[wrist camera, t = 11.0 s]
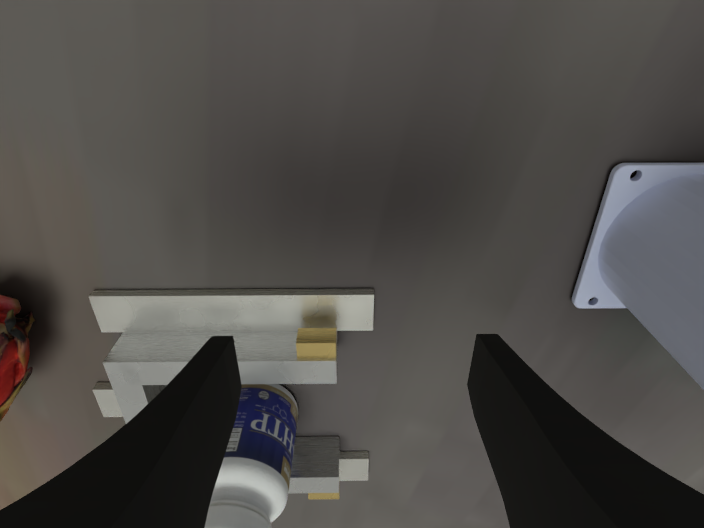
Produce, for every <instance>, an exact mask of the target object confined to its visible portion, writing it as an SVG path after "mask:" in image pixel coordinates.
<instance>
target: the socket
mask: <svg viewBox="0 0 704 528" xmlns="http://www.w3.org/2000/svg"><path fill="white" fill-rule="evenodd" d="M88 297H89V299H90V302H91V305H92V308H93V310H94V313H95V316H96V318H97V321H98V324H99V327H100V329H101V332H123V333H122V335H121V336H120V338H119V339H118V341H117V342H116V344H115V345H114V347H113V348H112V350H111V351H110V352H109V354H108V355H107V357H106V358H105V360H104V361H103V365H104V367H105V370H106V373H107V375H108V378H109V381H110V382H97V384H96V385H95V387H94V388H93V392H94V395H95V397H96V400H97V402H98V404H99V407H100V409H101V412H102V414H103V416H104V417H124V420H125V423H126V424H127V423H128V422H129V421H130V420H131V419H132V418H133V417H135V416H136V415H137V414H138V413H139V412H140V411H141V410H142V409H143V408H144V407H145V406H146V405H147V404H148V403H149V402H150V401H152V400H153V399H154V398H155V397H156V396H157V395H158V394H159V393H160V392H161V391H162V390H163V389H164V388H165V387H166V386H167V385H168V384H169V383H170V381H171V380H172V379H173V378H174V377H175V376H176V375H177V374H178V373H179V372H180V371H181V370H182V369H183V368H184V367H185V365H186V364H187V363H188V362H189V361H190V360H191V359H192V358H193V357H194V355H195V354H196V353H197V352H198V351H199V350H200V349H201V347H202V346H203V345H204V344H205V343H206V342H207V341H208V340H209V339H210V338H211V337H212V336H233V339H234V344H235V350H236V356H237V362H238V367H239V373H240V379H241V384H337V348H338V342H337V331H373V313H374V289H200V290H94V291H93V292H92V293H91V294H90V295H89V296H88ZM368 464H369V456H368V451H352V452H340V447H339V436H325V437H295V443H294V452H293V460H292V468H291V477H290V484H289V492H288V493H308V498H309V499H339V481H364V480H368Z"/></svg>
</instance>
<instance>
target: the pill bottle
mask: <svg viewBox="0 0 704 528" xmlns="http://www.w3.org/2000/svg"><path fill="white" fill-rule="evenodd" d="M241 385H242V388H241V393H240V399H239V405H238V410H237V415H236V420H235V423H234V426H233V430H232V433H231V436H230V439H229V443H228V446H227V449H226V452H225V455H224V459H223V462H222V465H221V468H220V471H219V474H218V478H217V481H216V484H215V487H214V490H213V494H212V498H211V501H210V505H209V509H208V514H207V518H206V523H205V528H271V522H273V521H274V520H275V519H276V518H277V517H278V516H279V515H280V514H281V513H282V511H283V510H284V508H285V505H286V502H287V498H288V492H289V484H290V477H291V468H292V460H293V452H294V443H295V435H296V427H297V419H298V406H297V403H296V401H295V399H294V397H293V396H292V394H291V393H290V392H289V391H288V390H287V389H286V388H284V387H283V386H281V385H279V384H241Z"/></svg>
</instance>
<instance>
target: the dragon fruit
mask: <svg viewBox="0 0 704 528" xmlns="http://www.w3.org/2000/svg"><path fill="white" fill-rule="evenodd" d="M6 296H8V295H5V296H3V295H1V294H0V421H1V420H2V419H3V417H4V416H5V414H6V413H7V411H8V410H9V407H10V405H11V404H12V402H13V400H14V398H15V397H16V395H17V394H18V393H19V391H20V389H21V388H22V387H23V386H24V384H25V383H26V381H27V380H28V378H29V376H30V375H31V373H32V369H33V368H32V367H29V369H28V370H27V366H28V360H29V354H30V351H29V339H28V338H27V337H28V332H29V330H30V329H31V325H32V323H33V322H34V321H35V319H34V318H33V314H32V312H30V314H29V315H26V316H25V317H24V318H22V319H21V318H17V317H15V315H16V314H18V313H19V312H20V309H21V306H20V303H19V301H18V300H17V299H14V298H10V297H6ZM21 380H22V381H21ZM22 384H23V385H22Z"/></svg>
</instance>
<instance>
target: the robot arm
mask: <svg viewBox="0 0 704 528" xmlns="http://www.w3.org/2000/svg"><path fill="white" fill-rule="evenodd" d="M636 170H637V174H636V175H635V176H634V177H633V178H630V175H631V174H632V173H633V172H634V171H636ZM593 297H594V299H593V300H591V301H589V299H591V298H593ZM572 302H573V304H574V305H575V306H576V307H577V308H627V309H628V310H629V311H630V312H631V313H632V314H633V315H634V316H635V317H636V318H637V319H638V320H639V321H640V322H641V323H642V325H643V326H644V327H645V328H646V329H647V330H648V331H649V332H650V333H651V334H652V335H653V336H654V337H655V338H656V339H657V341H658V342H659V343H660V344H661V345H662V346H663V347H664V348H665V349H666V350H667V351H668V352H669V353H670V354H671V356H672V357H673V358H674V359H675V360H676V361H677V362H678V363H679V364H680V365H681V366H682V367H683V368H684V369H685V370H686V372H687V373H688V374H689V375H690V376H691V377H692V378H693V379H694V380H695V381H696V382H697V383H698V384H699V385H700V387H701V388H702V389H703V390H704V163H620V164H618V165H617V166H615V167H614V168H613V169H612V171H611V173H610V176H609V179H608V183H607V186H606V189H605V192H604V196H603V199H602V202H601V205H600V208H599V212H598V215H597V218H596V221H595V225H594V228H593V231H592V234H591V237H590V241H589V244H588V247H587V250H586V254H585V257H584V260H583V263H582V267H581V270H580V273H579V276H578V279H577V283H576V286H575V289H574V292H573V296H572ZM467 385H468V390H469V395H470V400H471V405H472V409H473V413H474V417H475V420H476V423H477V426H478V429H479V432H480V435H481V438H482V441H483V443H484V446H485V449H486V452H487V455H488V457H489V460H490V463H491V466H492V469H493V471H494V474H495V477H496V480H497V483H498V486H499V488H500V492H501V495H502V498H503V501H504V505H505V509H506V513H507V517H508V521H509V525H510V528H704V494H702V493H700V492H698V491H696V490H695V489H693V488H691V487H689V486H688V485H686V484H684V483H682V482H681V481H679V480H677V479H675V478H674V477H672V476H670V475H668V474H667V473H665V472H664V471H662V470H660V469H659V468H657V467H655V466H654V465H652V464H651V463H649V462H647V461H646V460H644V459H643V458H641V457H640V456H638V455H637V454H635V453H634V452H632V451H631V450H629V449H628V448H626V447H625V446H623V445H622V444H620V443H619V442H618V441H616V440H615V439H613V438H612V437H611V436H609V435H608V434H606V433H605V432H604V431H603V430H601V429H600V428H599V427H597V426H596V425H595V424H593V423H592V422H591V421H589V420H588V419H587V418H586V417H584V416H583V415H582V414H581V413H579V412H578V411H577V410H576V409H575V408H573V407H572V406H571V405H570V404H569V403H568V402H566V401H565V400H564V399H563V398H562V397H561V396H559V395H558V394H557V393H556V392H555V391H554V390H553V389H552V388H551V387H550V386H549V385H547V384H546V383H545V382H544V381H543V380H542V379H541V378H540V377H539V376H538V375H537V374H536V373H535V372H534V371H533V370H532V369H531V368H530V367H529V366H528V365H527V364H526V363H525V362H524V361H523V360H522V359H521V358H520V357H519V356H518V355H517V354H516V353H515V352H514V351H513V350H512V349H511V348H510V347H509V346H508V345H507V344H506V342H505V341H504V340H503V339H502V338H501V337H500V336H499V335H498V334H477V335H476V340H475V346H474V351H473V356H472V362H471V367H470V373H469V378H468V383H467ZM241 388H242V385H241V379H240V373H239V367H238V362H237V356H236V350H235V344H234V339H233V336H212V337H211V338H210V339H209V340H208V341H207V342H206V343H205V344H204V345H203V346H202V347H201V349H200V350H199V351H198V352H197V353H196V354H195V355H194V357H193V358H192V359H191V360H190V361H189V362H188V363H187V364H186V365H185V367H184V368H183V369H182V370H181V371H180V372H179V373H178V374H177V375H176V376H175V377H174V378H173V379H172V380H171V381H170V383H169V384H168V385H167V386H166V387H165V388H164V389H163V390H162V391H161V392H160V393H159V394H158V395H157V396H156V397H155V398H154V399H153V400H152V401H150V402H149V403H148V404H147V405H146V406H145V407H144V408H143V409H142V410H141V411H140V412H139V413H138V414H137V415H136V416H135V417H133V418H132V419H131V420H130V421H129V422H128V423H127V424H125V425H124V426H123V427H122V428H121V429H120V430H118V431H117V432H116V433H115V434H113V435H112V436H111V437H110V438H109V439H107V440H106V441H105V442H103V443H102V444H101V445H99V446H98V447H97V448H95V449H94V450H93V451H91V452H90V453H88V454H87V455H86V456H84V457H83V458H82V459H80V460H79V461H77V462H76V463H75V464H73V465H72V466H71V467H69V468H68V469H66V470H65V471H63V472H62V473H60V474H59V475H57V476H56V477H54V478H53V479H51V480H50V481H48V482H47V483H45V484H43V485H42V486H40V487H39V488H37V489H35V490H34V491H32V492H31V493H29V494H27V495H26V496H24V497H22V498H21V499H19V500H17V501H16V502H14V503H12V504H10V505H9V506H7V507H5V508H3V509H2V510H0V528H205V523H206V518H207V514H208V509H209V505H210V501H211V498H212V494H213V490H214V487H215V484H216V481H217V478H218V474H219V471H220V468H221V465H222V462H223V459H224V455H225V452H226V449H227V446H228V443H229V439H230V436H231V433H232V430H233V426H234V423H235V420H236V415H237V410H238V405H239V399H240V393H241Z"/></svg>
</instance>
